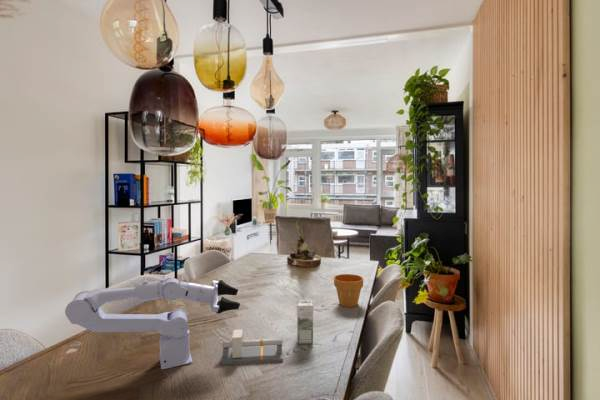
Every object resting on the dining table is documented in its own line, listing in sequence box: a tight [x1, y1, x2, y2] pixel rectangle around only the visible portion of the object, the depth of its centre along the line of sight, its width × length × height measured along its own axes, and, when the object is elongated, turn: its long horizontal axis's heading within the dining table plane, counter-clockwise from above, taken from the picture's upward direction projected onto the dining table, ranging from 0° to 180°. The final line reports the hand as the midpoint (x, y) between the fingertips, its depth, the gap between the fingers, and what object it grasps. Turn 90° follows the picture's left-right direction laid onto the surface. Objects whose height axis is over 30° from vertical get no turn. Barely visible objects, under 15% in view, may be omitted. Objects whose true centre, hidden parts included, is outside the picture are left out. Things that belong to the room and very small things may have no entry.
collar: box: [231, 329, 244, 358], centre depth 111 cm, size 3×6×7 cm, turn 6°
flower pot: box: [333, 273, 364, 308], centre depth 161 cm, size 14×14×13 cm
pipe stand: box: [220, 338, 284, 366], centre depth 112 cm, size 20×9×6 cm, turn 96°
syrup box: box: [296, 300, 314, 345], centre depth 123 cm, size 6×6×14 cm
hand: (238, 299), depth 116 cm, fingers open, 7 cm apart
